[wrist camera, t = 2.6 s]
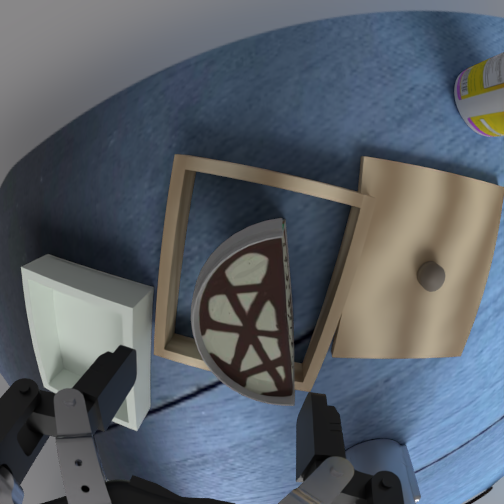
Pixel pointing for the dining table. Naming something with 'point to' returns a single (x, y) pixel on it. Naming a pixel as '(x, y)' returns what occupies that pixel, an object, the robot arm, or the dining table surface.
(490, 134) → the supplement bottle
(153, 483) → the robot arm
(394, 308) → the bin lid
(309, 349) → the bin frame
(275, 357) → the food container
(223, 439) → the dining table surface
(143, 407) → the bin
